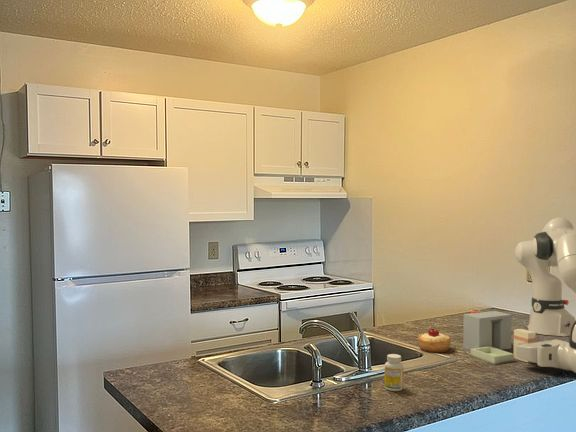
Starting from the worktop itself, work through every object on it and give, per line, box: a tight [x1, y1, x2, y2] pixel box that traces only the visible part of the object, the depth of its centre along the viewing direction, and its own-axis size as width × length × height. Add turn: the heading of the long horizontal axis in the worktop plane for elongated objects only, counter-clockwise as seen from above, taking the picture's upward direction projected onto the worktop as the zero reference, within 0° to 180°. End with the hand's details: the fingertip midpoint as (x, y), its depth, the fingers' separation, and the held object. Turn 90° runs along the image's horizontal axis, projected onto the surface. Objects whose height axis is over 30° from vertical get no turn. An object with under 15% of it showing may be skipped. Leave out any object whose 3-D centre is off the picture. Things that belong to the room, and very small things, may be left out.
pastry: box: [417, 325, 451, 353], centre depth 201 cm, size 12×12×9 cm
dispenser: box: [462, 310, 513, 351], centre depth 203 cm, size 16×8×13 cm, turn 115°
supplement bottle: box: [384, 353, 404, 392], centre depth 158 cm, size 5×5×10 cm
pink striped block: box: [513, 328, 537, 363], centre depth 187 cm, size 4×6×10 cm, turn 26°
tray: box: [470, 346, 515, 365], centre depth 189 cm, size 9×11×2 cm
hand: (524, 343), depth 187 cm, fingers closed on pink striped block, 4 cm apart
